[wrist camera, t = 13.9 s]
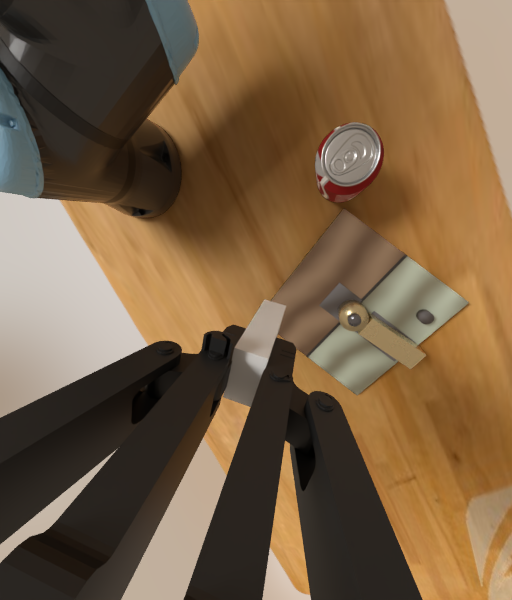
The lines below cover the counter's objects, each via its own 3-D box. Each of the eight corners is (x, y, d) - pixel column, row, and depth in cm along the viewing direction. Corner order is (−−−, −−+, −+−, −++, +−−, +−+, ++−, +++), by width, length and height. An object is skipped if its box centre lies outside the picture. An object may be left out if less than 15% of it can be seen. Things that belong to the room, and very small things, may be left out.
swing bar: (332, 314, 39) (333, 323, 36) (349, 294, 38) (351, 301, 34) (401, 361, 39) (409, 374, 35) (421, 343, 37) (431, 355, 34)
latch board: (258, 315, 44) (255, 320, 42) (343, 208, 36) (344, 207, 34) (356, 391, 44) (358, 401, 41) (464, 300, 36) (475, 305, 33)
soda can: (376, 181, 34) (402, 160, 23) (333, 212, 37) (338, 207, 26) (349, 139, 34) (363, 96, 22) (307, 174, 36) (301, 151, 25)
